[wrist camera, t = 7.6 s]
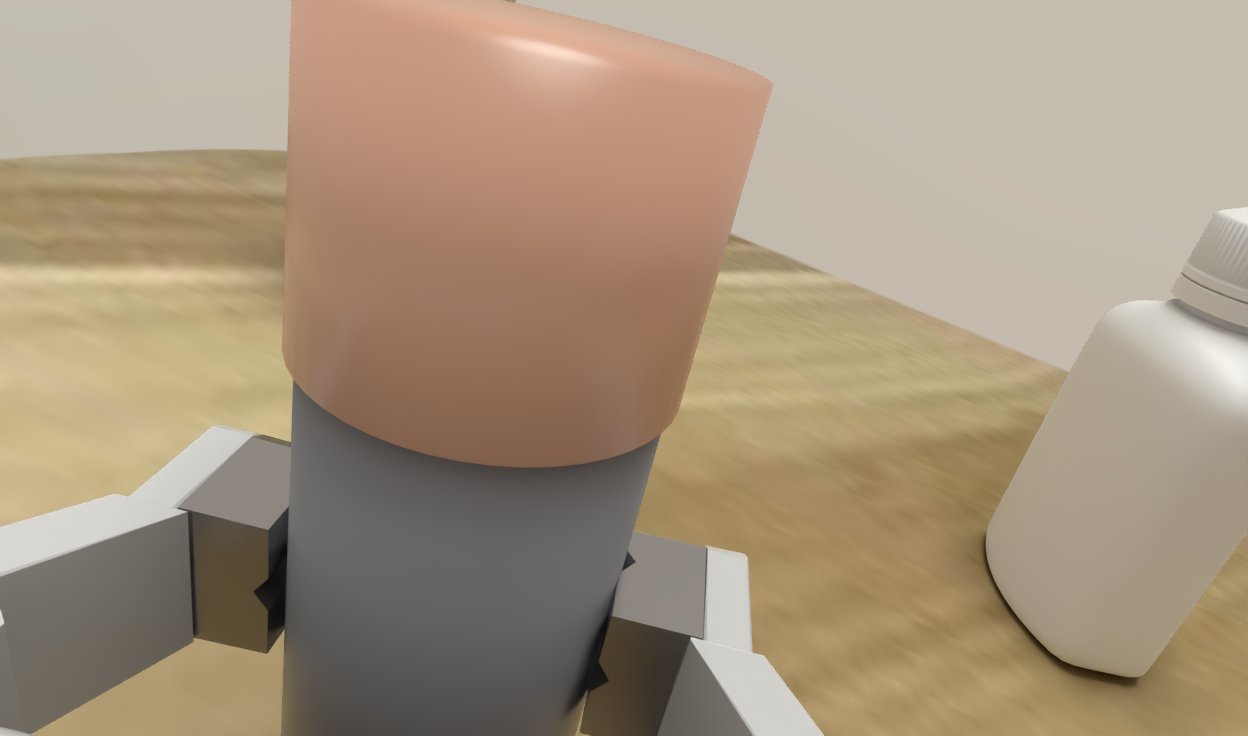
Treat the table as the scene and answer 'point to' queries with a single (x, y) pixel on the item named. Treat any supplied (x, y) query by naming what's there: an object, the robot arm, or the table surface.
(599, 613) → the terracotta marker
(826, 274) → the table surface
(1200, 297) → the eye dropper bottle
